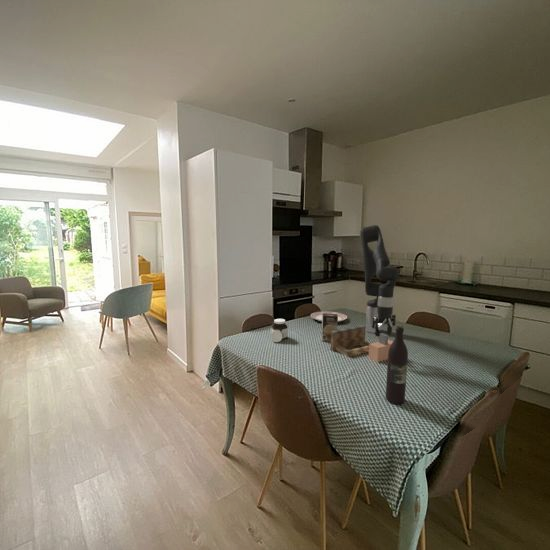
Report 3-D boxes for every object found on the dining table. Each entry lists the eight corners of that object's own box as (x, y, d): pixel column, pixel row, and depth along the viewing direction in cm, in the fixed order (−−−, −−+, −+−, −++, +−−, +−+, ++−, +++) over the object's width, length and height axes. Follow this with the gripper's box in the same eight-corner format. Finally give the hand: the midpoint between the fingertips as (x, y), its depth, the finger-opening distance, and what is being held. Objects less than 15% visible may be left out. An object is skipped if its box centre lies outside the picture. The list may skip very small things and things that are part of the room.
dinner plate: (309, 314, 240) (309, 310, 239) (343, 314, 239) (343, 310, 238) (312, 324, 213) (312, 320, 212) (350, 325, 212) (350, 321, 211)
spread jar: (284, 335, 190) (285, 317, 189) (291, 341, 180) (291, 323, 178) (267, 337, 187) (267, 319, 185) (272, 343, 176) (272, 324, 174)
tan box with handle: (387, 353, 163) (388, 330, 161) (396, 357, 158) (397, 334, 156) (368, 358, 156) (369, 334, 155) (377, 362, 151) (378, 338, 149)
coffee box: (321, 341, 180) (322, 315, 178) (321, 337, 186) (321, 313, 184) (337, 342, 179) (337, 316, 177) (335, 338, 185) (336, 313, 183)
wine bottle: (385, 402, 115) (390, 328, 111) (385, 393, 122) (390, 323, 118) (405, 406, 113) (410, 331, 109) (404, 397, 119) (409, 325, 115)
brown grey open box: (361, 342, 178) (362, 324, 177) (377, 349, 168) (378, 331, 166) (330, 349, 167) (330, 331, 166) (344, 357, 157) (345, 337, 155)
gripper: (389, 302, 159) (387, 331, 162) (369, 304, 153) (368, 334, 155) (400, 305, 153) (398, 335, 155) (380, 307, 146) (379, 339, 149)
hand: (383, 334), depth 155 cm, fingers open, 8 cm apart
